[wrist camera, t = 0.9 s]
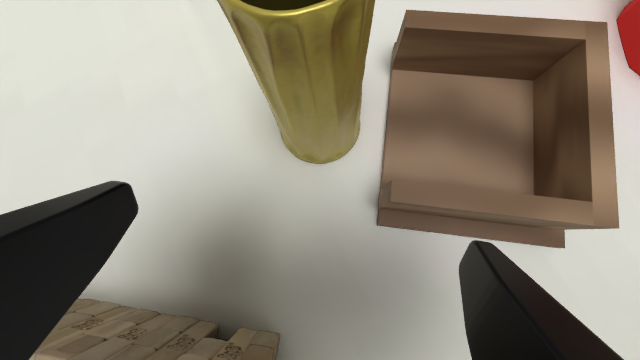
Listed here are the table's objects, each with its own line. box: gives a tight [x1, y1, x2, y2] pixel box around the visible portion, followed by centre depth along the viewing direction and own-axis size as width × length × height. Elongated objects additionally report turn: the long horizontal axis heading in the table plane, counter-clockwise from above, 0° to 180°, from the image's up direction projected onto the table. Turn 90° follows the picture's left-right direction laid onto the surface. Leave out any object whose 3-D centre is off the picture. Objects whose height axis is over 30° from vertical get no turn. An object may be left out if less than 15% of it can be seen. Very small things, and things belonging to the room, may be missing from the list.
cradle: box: [377, 10, 619, 248], centre depth 19 cm, size 14×12×5 cm
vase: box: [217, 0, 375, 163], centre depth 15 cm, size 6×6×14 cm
